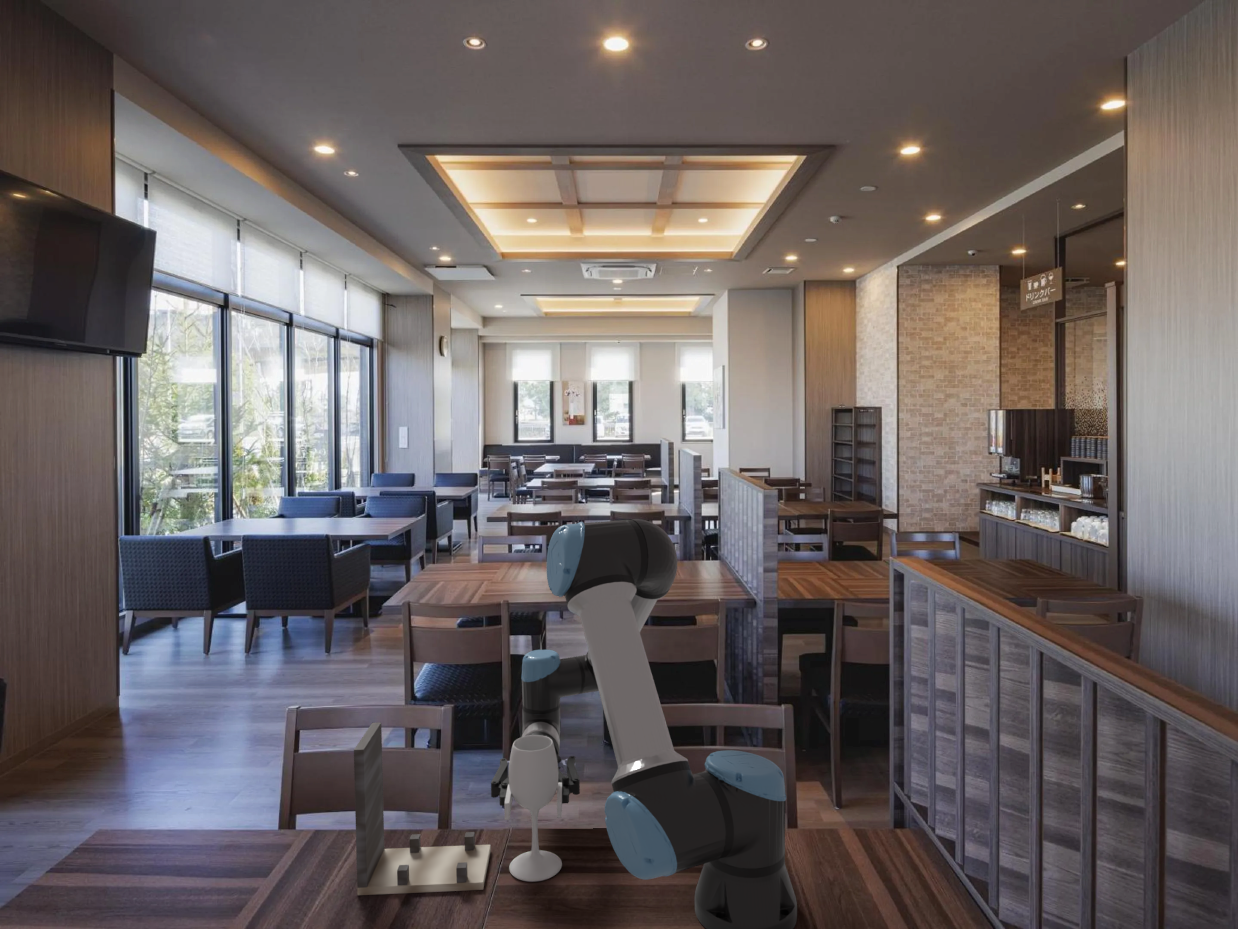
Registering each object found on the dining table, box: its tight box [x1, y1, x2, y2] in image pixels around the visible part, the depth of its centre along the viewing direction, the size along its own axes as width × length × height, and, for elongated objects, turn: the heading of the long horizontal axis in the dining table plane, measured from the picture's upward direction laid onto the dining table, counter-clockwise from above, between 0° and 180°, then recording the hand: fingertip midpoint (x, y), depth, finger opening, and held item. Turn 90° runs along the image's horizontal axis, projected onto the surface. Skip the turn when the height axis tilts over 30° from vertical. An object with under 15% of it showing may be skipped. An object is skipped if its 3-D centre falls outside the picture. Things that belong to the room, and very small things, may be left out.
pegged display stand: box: [353, 721, 492, 896], centre depth 125 cm, size 20×11×23 cm, turn 93°
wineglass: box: [508, 735, 563, 882], centre depth 126 cm, size 9×9×21 cm
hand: (533, 810), depth 121 cm, fingers closed on wineglass, 8 cm apart
